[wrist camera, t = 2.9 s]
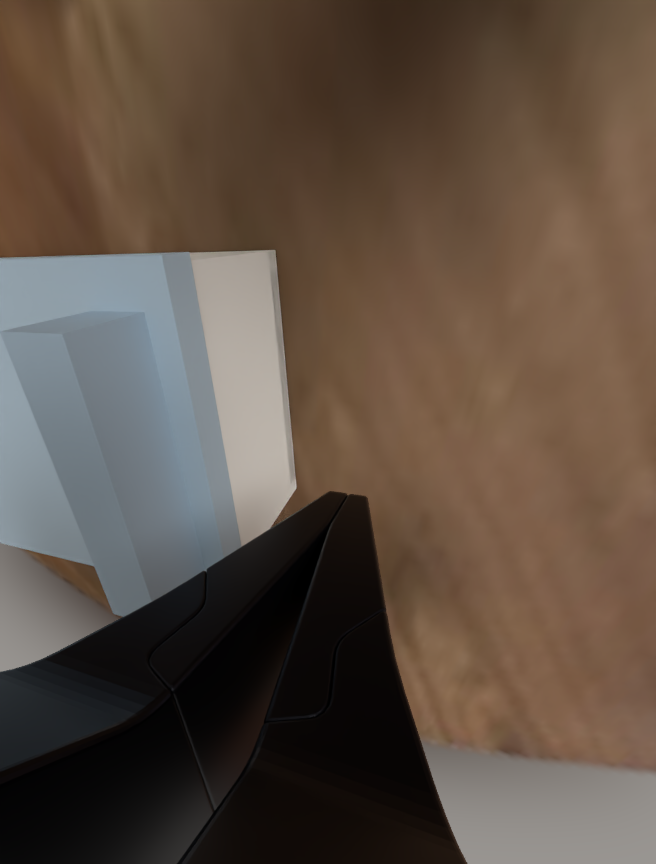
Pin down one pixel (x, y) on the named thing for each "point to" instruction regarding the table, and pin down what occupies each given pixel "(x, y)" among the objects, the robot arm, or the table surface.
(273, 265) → the box
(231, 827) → the robot arm
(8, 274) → the lid
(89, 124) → the table surface
